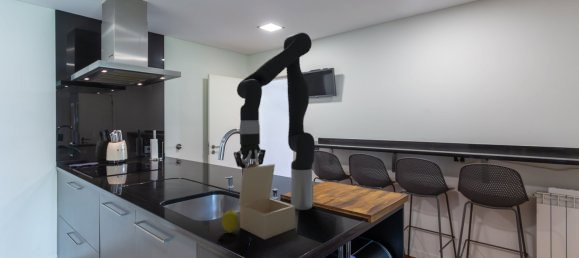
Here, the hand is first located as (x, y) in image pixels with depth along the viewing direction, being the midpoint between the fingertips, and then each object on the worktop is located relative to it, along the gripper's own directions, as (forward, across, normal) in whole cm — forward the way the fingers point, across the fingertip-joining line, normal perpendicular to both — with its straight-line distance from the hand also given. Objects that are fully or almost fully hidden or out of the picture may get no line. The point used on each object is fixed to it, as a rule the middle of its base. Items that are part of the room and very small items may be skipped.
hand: (250, 176), depth 111 cm
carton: (+17, 0, +10) cm, 20 cm away
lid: (+2, 0, +5) cm, 5 cm away
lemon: (+17, +12, +4) cm, 21 cm away
